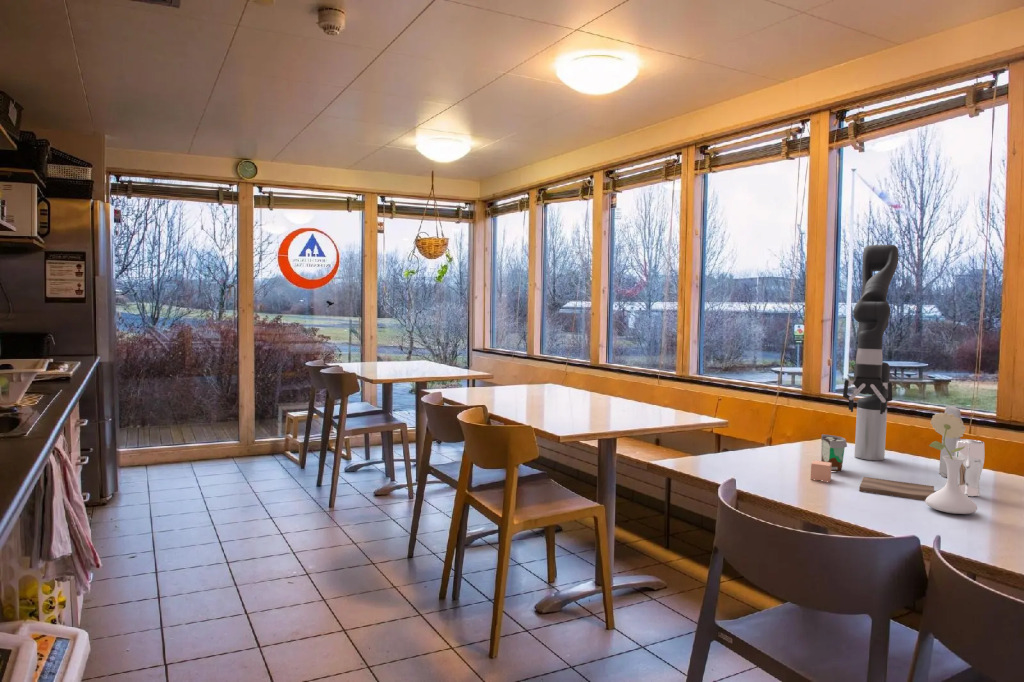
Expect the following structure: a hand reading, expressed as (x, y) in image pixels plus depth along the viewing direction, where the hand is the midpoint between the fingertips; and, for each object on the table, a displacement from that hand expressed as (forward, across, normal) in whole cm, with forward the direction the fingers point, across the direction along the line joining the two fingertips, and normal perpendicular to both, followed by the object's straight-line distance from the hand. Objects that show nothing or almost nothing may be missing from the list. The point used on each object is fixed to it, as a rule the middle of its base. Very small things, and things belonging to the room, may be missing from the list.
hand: (866, 412), depth 227 cm
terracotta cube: (+19, +11, +26) cm, 34 cm away
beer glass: (+19, -26, +22) cm, 39 cm away
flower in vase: (+20, -19, +43) cm, 51 cm away
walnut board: (+19, -8, +28) cm, 35 cm away
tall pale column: (+18, -24, 0) cm, 30 cm away
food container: (+18, +8, +9) cm, 22 cm away
